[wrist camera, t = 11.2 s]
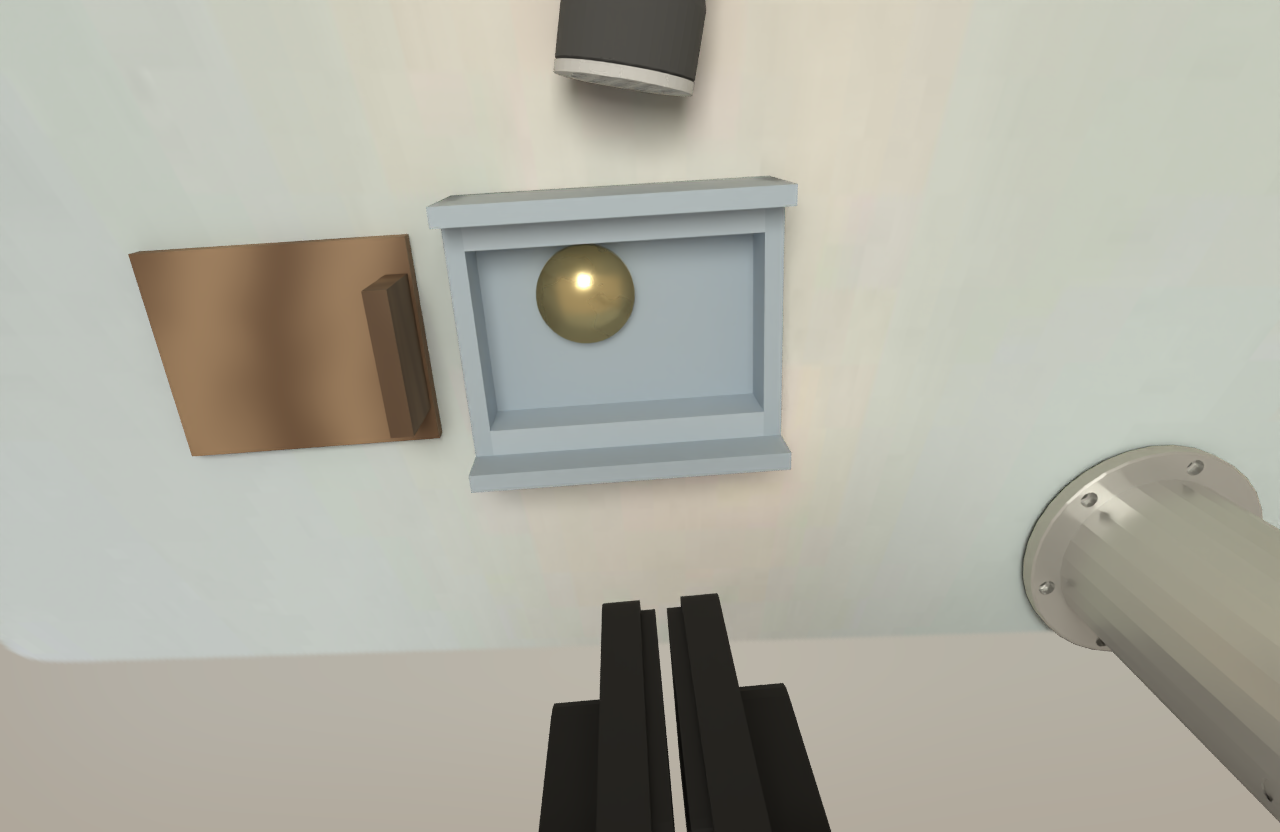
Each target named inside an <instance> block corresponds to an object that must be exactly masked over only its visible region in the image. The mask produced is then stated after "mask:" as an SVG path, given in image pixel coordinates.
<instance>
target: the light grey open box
mask: <svg viewBox="0 0 1280 832" xmlns="http://www.w3.org/2000/svg"><path fill="white" fill-rule="evenodd" d="M797 195H798V184H796V183H792V182H789V181H785V180H782V179H778V178H775V177H771V176H759V177H743V178H727V179H711V180H695V181H679V182H662V183H646V184H630V185H614V186H598V187H582V188H566V189H550V190H534V191H517V192H501V193H485V194H469V195H453V196H449V197H447V198H445V199H443V200H441V201H438V202H436V203H434V204H432V205H430V206H428V207H426V211H427V217H428V223H429V229H440V228H441V231H442V238H443V244H444V251H445V257H446V264H447V270H448V277H449V283H450V290H451V296H452V303H453V309H454V316H455V323H456V329H457V336H458V342H459V349H460V355H461V362H462V368H463V375H464V381H465V388H466V394H467V401H468V407H469V414H470V420H471V427H472V433H473V440H474V446H475V453H476V458H475V461H474V464H473V466H472V469H471V472H470V474H469V481H470V487H471V493H475V492H489V491H502V490H516V489H530V488H543V487H557V486H571V485H584V484H598V483H611V482H625V481H639V480H652V479H666V478H680V477H693V476H707V475H721V474H734V473H748V472H761V471H775V470H789V469H791V451H790V450H789V448H788V446H787V445H786V443H785V441H784V440H783V438H782V436H781V391H782V335H783V278H784V221H785V207H787V206H797ZM590 243H592V244H597V245H601V246H603V247H605V248H607V249H609V250H611V251H613V252H614V253H615V254H616V255H618V256H619V257H620V258H621V259H622V260H623V262H624V263H625V264H626V266H627V268H628V270H629V272H630V274H631V276H632V280H633V284H634V291H635V300H634V306H633V310H632V312H631V315H630V317H629V319H628V320H627V322H626V323H625V325H624V326H623V327H622V328H621V329H620V330H619V331H618V332H617V333H616V334H614V335H613V336H611V337H609V338H607V339H605V340H603V341H599V342H595V343H577V342H573V341H570V340H567V339H565V338H563V337H561V336H559V335H558V334H556V333H555V332H554V331H553V330H551V329H550V328H549V326H548V325H547V324H546V323H545V321H544V320H543V318H542V316H541V314H540V312H539V309H538V306H537V301H536V286H537V281H538V278H539V275H540V273H541V270H542V268H543V267H544V265H545V263H546V262H547V261H548V259H549V258H550V257H551V256H552V255H553V254H555V253H556V252H557V251H559V250H561V249H562V248H564V247H567V246H569V245H574V244H590Z"/></svg>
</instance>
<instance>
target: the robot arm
mask: <svg viewBox="0 0 1280 832" xmlns="http://www.w3.org/2000/svg"><path fill="white" fill-rule="evenodd" d="M1023 580H1024V585H1025V590H1026V594H1027V597H1028V599H1029V601H1030V603H1031V605H1032V607H1033V609H1034V610H1035V611H1036V613H1037V614H1038V615H1039V616H1040V617H1041V619H1042V620H1043V621H1044V622H1045V623H1046V625H1047V626H1049V627H1050V628H1051V629H1052V630H1053V631H1054V632H1055V633H1057V634H1058V635H1059V636H1060V637H1062V638H1064V639H1066V640H1067V641H1069V642H1071V643H1073V644H1075V645H1079V646H1082V647H1085V648H1089V649H1093V650H1102V651H1112V652H1113V653H1114V654H1116V656H1117V657H1119V659H1120V660H1121V661H1122V662H1123V663H1124V664H1125V665H1126V666H1127V667H1128V668H1129V669H1130V670H1131V671H1132V672H1133V673H1134V674H1135V675H1136V676H1137V677H1138V678H1139V679H1140V680H1141V681H1142V682H1143V683H1144V684H1145V685H1146V686H1147V687H1148V688H1149V689H1150V690H1151V691H1152V692H1153V693H1154V694H1155V695H1156V696H1157V697H1158V698H1159V700H1160V701H1161V702H1162V703H1163V704H1164V705H1165V706H1166V707H1167V708H1168V709H1169V710H1170V711H1171V712H1172V713H1173V714H1174V715H1175V716H1176V717H1177V718H1178V719H1179V720H1180V721H1181V722H1182V723H1183V724H1184V725H1185V726H1186V727H1187V728H1188V729H1189V730H1190V731H1191V732H1192V733H1193V734H1194V735H1195V736H1196V737H1197V738H1198V739H1199V740H1200V741H1201V742H1202V743H1203V744H1204V745H1205V746H1206V748H1207V749H1208V750H1209V751H1210V752H1211V753H1212V754H1213V755H1214V756H1215V757H1216V758H1217V759H1218V760H1219V761H1220V762H1221V763H1222V764H1223V765H1224V766H1225V767H1226V768H1227V769H1228V770H1229V771H1230V772H1231V773H1232V774H1233V775H1234V776H1235V777H1236V778H1237V779H1238V780H1239V781H1240V782H1241V783H1242V784H1243V785H1244V786H1245V787H1246V788H1247V789H1248V790H1249V791H1250V792H1251V793H1252V794H1253V795H1254V796H1255V798H1256V799H1257V800H1258V801H1259V802H1261V804H1262V805H1263V806H1264V807H1265V808H1266V809H1267V810H1268V811H1269V812H1270V813H1271V814H1272V815H1273V816H1274V817H1275V818H1276V819H1277V820H1278V821H1279V822H1280V529H1278V528H1276V527H1274V526H1273V525H1271V524H1269V523H1268V522H1266V521H1264V520H1263V518H1262V508H1261V504H1260V501H1259V498H1258V495H1257V492H1256V491H1255V489H1254V488H1253V486H1252V485H1251V483H1250V482H1249V480H1248V479H1247V477H1246V476H1244V475H1243V474H1242V473H1241V472H1240V471H1239V470H1238V469H1236V468H1235V467H1234V466H1233V465H1231V464H1229V463H1227V462H1226V461H1224V460H1222V459H1220V458H1218V457H1216V456H1215V455H1213V454H1210V453H1207V452H1205V451H1202V450H1199V449H1196V448H1192V447H1184V446H1177V445H1165V446H1150V447H1145V448H1141V449H1136V450H1132V451H1128V452H1125V453H1123V454H1120V455H1118V456H1115V457H1113V458H1110V459H1107V460H1105V461H1103V462H1102V463H1100V464H1098V465H1096V466H1095V467H1093V468H1091V469H1089V470H1088V471H1086V472H1084V473H1083V474H1082V475H1080V476H1079V477H1078V478H1077V479H1075V480H1074V481H1073V482H1072V483H1070V484H1069V485H1068V486H1066V487H1065V488H1064V489H1063V490H1062V491H1061V493H1060V494H1059V495H1058V496H1057V497H1056V498H1055V499H1054V500H1053V501H1052V502H1051V503H1050V504H1049V506H1048V507H1047V509H1046V510H1045V511H1044V513H1043V514H1042V516H1041V517H1040V519H1039V520H1038V522H1037V523H1036V526H1035V528H1034V530H1033V532H1032V534H1031V536H1030V539H1029V541H1028V544H1027V548H1026V552H1025V557H1024V563H1023ZM680 599H681V607H674V608H667V616H668V628H669V640H670V652H671V662H672V663H671V664H672V675H673V688H674V699H675V711H676V722H677V735H678V747H679V759H680V769H681V779H682V789H683V798H684V808H685V818H686V827H687V832H831V830H830V827H829V823H828V820H827V817H826V813H825V810H824V807H823V804H822V801H821V797H820V794H819V791H818V788H817V785H816V782H815V778H814V775H813V772H812V768H811V765H810V762H809V759H808V756H807V752H806V749H805V746H804V743H803V740H802V736H801V733H800V730H799V727H798V723H797V720H796V717H795V714H794V711H793V707H792V704H791V701H790V698H789V695H788V692H787V689H786V687H785V685H784V684H783V683H780V684H768V685H756V686H745V687H739V685H738V680H737V676H736V671H735V667H734V663H733V658H732V654H731V650H730V645H729V640H728V636H727V631H726V627H725V623H724V618H723V614H722V609H721V605H720V600H719V597H718V594H717V593H716V594H705V595H694V596H682V597H681V598H680ZM600 670H601V671H600V700H590V701H578V702H568V703H556V704H554V706H553V709H552V716H551V724H550V734H549V742H548V751H547V760H546V769H545V779H544V787H543V797H542V806H541V815H540V824H539V832H675V827H674V817H673V816H674V815H673V804H672V792H671V781H670V769H669V758H668V747H667V738H666V737H667V736H666V726H665V715H664V703H663V692H662V681H661V670H660V659H659V648H658V637H657V626H656V615H655V609H652V610H641V608H640V601H639V600H638V601H627V602H616V603H604V604H603V605H602V632H601V669H600Z"/></svg>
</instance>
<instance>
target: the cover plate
mask: <svg viewBox="0 0 1280 832" xmlns="http://www.w3.org/2000/svg"><path fill="white" fill-rule="evenodd" d="M128 255H129V258H130V261H131V264H132V268H133V271H134V274H135V277H136V280H137V283H138V287H139V290H140V293H141V296H142V299H143V302H144V306H145V309H146V312H147V315H148V318H149V321H150V325H151V328H152V331H153V334H154V337H155V340H156V344H157V347H158V350H159V353H160V356H161V359H162V363H163V366H164V369H165V372H166V375H167V378H168V381H169V385H170V388H171V391H172V394H173V397H174V400H175V404H176V407H177V410H178V413H179V416H180V419H181V423H182V426H183V429H184V432H185V435H186V438H187V442H188V445H189V448H190V451H191V454H192V456H203V455H217V454H230V453H244V452H257V451H271V450H284V449H298V448H311V447H325V446H338V445H352V444H365V443H379V442H392V441H406V440H419V439H433V438H440V436H441V434H442V428H441V422H440V416H439V410H438V404H437V399H436V393H435V387H434V381H433V375H432V369H431V364H430V358H429V352H428V346H427V340H426V334H425V329H424V323H423V317H422V311H421V305H420V300H419V294H418V288H417V282H416V276H415V270H414V265H413V259H412V253H411V247H410V241H409V235H408V234H401V235H386V236H370V237H355V238H340V239H324V240H309V241H293V242H278V243H262V244H247V245H232V246H216V247H201V248H185V249H170V250H154V251H139V252H135V253H132V254H128Z"/></svg>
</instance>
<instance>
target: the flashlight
mask: <svg viewBox="0 0 1280 832" xmlns="http://www.w3.org/2000/svg"><path fill="white" fill-rule="evenodd" d="M705 14H706V5H705V0H561V2H560V13H559V23H558V33H557V43H556V53H555V58H556V59H555V62H554V73H556V74H558V75H561V76H564V77H568V78H572V79H576V80H580V81H584V82H589V83H594V84H599V85H605V86H610V87H617V88H623V89H629V90H635V91H640V92H647V93H654V94H662V95H671V96H692V94H693V88H694V81H695V75H696V69H697V63H698V57H699V51H700V45H701V39H702V32H703V26H704V20H705Z"/></svg>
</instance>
